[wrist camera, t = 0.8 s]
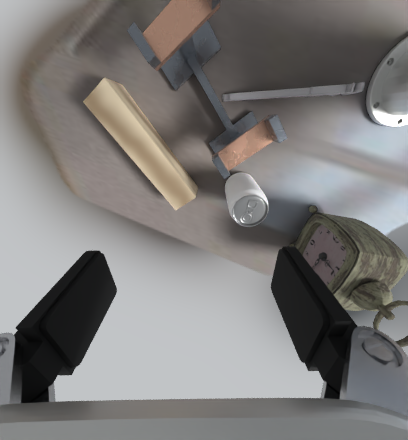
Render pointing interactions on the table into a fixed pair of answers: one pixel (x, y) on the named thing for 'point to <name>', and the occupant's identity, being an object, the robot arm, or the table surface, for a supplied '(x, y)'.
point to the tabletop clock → (354, 263)
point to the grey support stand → (202, 75)
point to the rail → (141, 141)
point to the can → (245, 200)
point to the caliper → (297, 92)
